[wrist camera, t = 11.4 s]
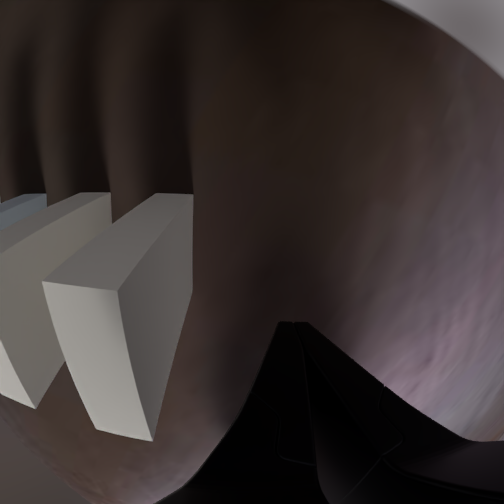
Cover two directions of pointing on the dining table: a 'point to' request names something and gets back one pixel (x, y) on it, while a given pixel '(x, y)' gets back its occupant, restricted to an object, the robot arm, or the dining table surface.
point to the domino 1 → (20, 208)
